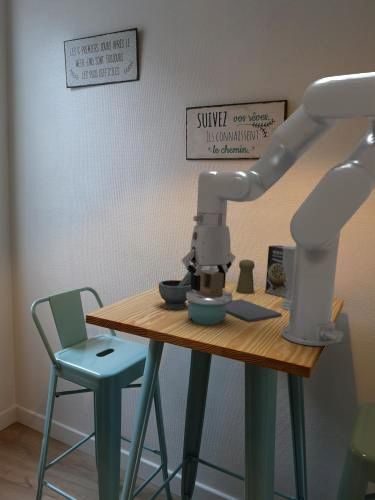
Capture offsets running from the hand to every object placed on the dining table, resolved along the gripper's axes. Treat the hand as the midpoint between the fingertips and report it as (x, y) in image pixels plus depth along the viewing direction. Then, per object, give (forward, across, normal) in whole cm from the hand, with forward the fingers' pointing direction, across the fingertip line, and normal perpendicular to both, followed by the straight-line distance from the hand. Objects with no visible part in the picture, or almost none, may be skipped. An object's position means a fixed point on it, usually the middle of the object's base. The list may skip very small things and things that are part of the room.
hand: (208, 288), depth 112 cm
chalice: (+9, +30, -1) cm, 31 cm away
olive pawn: (+9, +31, +20) cm, 38 cm away
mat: (+9, +15, +2) cm, 17 cm away
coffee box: (+9, +40, +12) cm, 43 cm away
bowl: (+9, 0, 0) cm, 9 cm away
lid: (+3, 0, -1) cm, 3 cm away
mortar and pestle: (+9, 0, +14) cm, 17 cm away
